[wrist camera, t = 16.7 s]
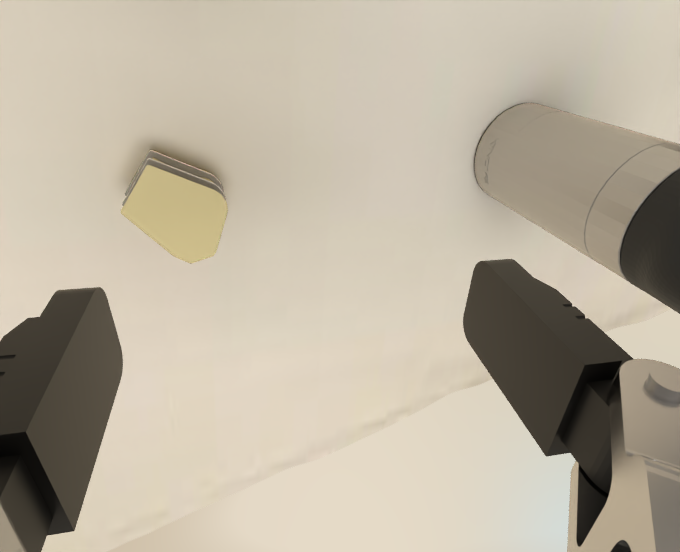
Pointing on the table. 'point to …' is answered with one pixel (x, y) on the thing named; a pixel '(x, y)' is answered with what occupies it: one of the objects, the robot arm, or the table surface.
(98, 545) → the table surface
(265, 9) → the table surface
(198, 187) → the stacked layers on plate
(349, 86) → the table surface
